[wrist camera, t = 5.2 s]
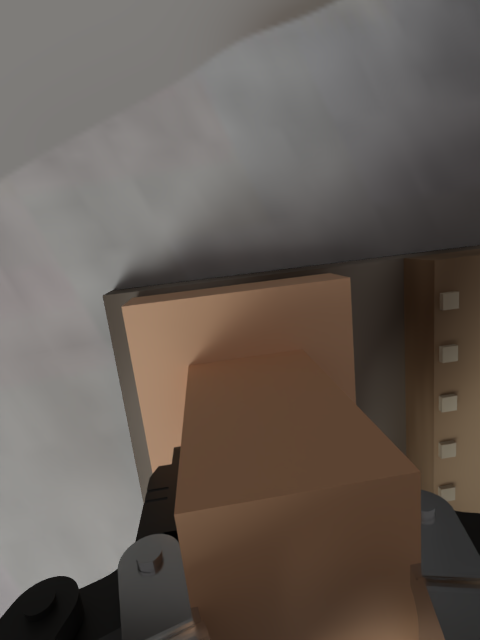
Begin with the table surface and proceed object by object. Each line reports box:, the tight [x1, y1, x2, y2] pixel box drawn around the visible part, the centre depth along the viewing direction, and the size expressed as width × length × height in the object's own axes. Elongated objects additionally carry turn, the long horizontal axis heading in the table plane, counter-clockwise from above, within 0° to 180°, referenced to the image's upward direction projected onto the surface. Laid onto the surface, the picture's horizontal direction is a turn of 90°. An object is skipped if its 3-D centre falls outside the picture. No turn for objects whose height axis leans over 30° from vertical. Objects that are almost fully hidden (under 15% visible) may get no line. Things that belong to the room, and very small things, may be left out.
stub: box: [121, 273, 421, 640], centre depth 11 cm, size 8×11×9 cm
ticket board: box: [103, 245, 480, 513], centre depth 16 cm, size 26×11×4 cm, turn 97°
